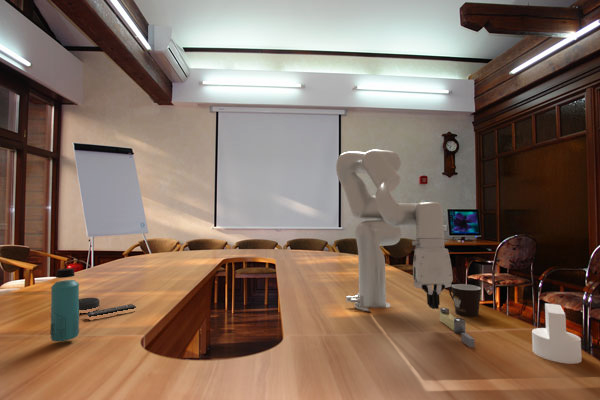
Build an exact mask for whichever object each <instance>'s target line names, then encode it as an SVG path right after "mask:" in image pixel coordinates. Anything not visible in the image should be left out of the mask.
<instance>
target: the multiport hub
mask: <svg viewBox="0 0 600 400" xmlns="http://www.w3.org/2000/svg"><path fill="white" fill-rule="evenodd" d="M134 308H136V309H137V305H135V304H132V303H130V304H125V305H121V306H114V307H110V308H105V309H98V310H96V311H93V312H88V313H86V314H87V315H88V316H89V317H91V316H97V315H103V314H108V313H113V312H117V311H123V310H128V309H134Z"/></svg>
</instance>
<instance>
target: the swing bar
mask: <svg viewBox="0 0 600 400" xmlns="http://www.w3.org/2000/svg"><path fill="white" fill-rule="evenodd" d="M439 310H440V311H439V321H440V322H441V323H442V324H444V325H445V326H446V327H448V328H449V329H450V330H452V331H454V334H458V335H461V333H466V319H465V318H462V317H457V316H455V315H453V314H452V313H450V309H449V308H447V307H446V308H445V307H441V308H439Z"/></svg>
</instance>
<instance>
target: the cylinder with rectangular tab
mask: <svg viewBox="0 0 600 400" xmlns="http://www.w3.org/2000/svg"><path fill="white" fill-rule="evenodd" d="M544 310H545V311H544V312H545V313H544V315H545V327H539V328H538V327H537V328H533V329H532V331H531V340H532V353H533V354H535V355H536V356H538V357H540V358H542V359H545V360H548V361H551V362H555V363H562V364H567V365H568V364H569V365H570V364H572V365H573V364H579V363H581V362H582V339H581V337H580V336H578V335H577V334H574V333H572V332H568V331H567V325H566V324H567V321H566V320H567V318H566V312H565V311H564V309H563V307H562V306H561V304H557V303H546V302H545V303H544Z"/></svg>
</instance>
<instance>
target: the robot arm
mask: <svg viewBox="0 0 600 400" xmlns="http://www.w3.org/2000/svg"><path fill="white" fill-rule="evenodd" d="M401 163H402V162H401V158H400V156H399V155H398V154H397V153H396V152H395V151H392V150H382V149H370V150H368V151H366V152H363V151H346V152H343V153H340V155H339V156H338V158H337V160H336V165H335V167H336V168H335V169H336V175H337V179H338V180H339V182H340V185H341V186H342V188H343V190H344V193H345V195H346V199H347V202H348V205H349V208H350V211H351V213H352V216H353V217H354V218H355V219H356V220H357V221H358V220H360V221H361V222H360V223H358V224H357V226H356V227H355V233H354V235H355V241H356V246H357V255H358V258H357V259H358V292H357V293H356V294H354V295H353V296H351V295H346V296H345V300H346V302H347V303H349V302H350V303H354V307H355V308H356V309H358V310H360V311H362V312H363V311H364V312H369V313H370V308H373V309H374V308H391V303H389V302H387V298H386V297H387V295H386V289H387V287H386V259H385V255H384V252H383V250H382V249H381V247H383V246H384V247H385V246H394V245H397V244H398V243H399V242H400V240H401V237H402V230H401V228H415V231H416V236H415V240H412V241H411V245H412V246H415V247H416V248H415V249H414V253H413V254H414V255H413V259H412V260H413V262H412V277H413V287H415V288H417V289H421V290H423V291H424V292H425V293H426V302H427V304H426V305H428V307H429V308H430V309H432V310H435V309H436V310H437V309H438V310H440V308H439V306H440V304H441V303H440V295H441V294H442V291H443V290H445V289H446V288H450V287H452V285H453V284H452V282H453V280H454V278H453V276H454V275H453V269H452V263H451V262H452V261H451V258H450V257H451V256H450V253H449V249H448V248H445V236H444V235H445V233H444V217H443V216H444V215H443V206H442V204H441V203H440V202H436V201H428V202H427V201H425V202H418V203H415V202H414V203H411V202H396V200H395V199H394V197H393V195H392V194H391V192H393V191H394V190H395V189H396V188H397V187H399V185H400V183H401V176H400V175H399V174H398V171H399V170H400V167H401ZM358 174H363V175H365V174H366V175H368V176H369V178H370V180H371V181H372V183H373V184H374V186H375V187H376V189H377V190H376V192H375V195H372V194H370V193H369V192H370V191H368V188H367V185H366V183H365V182H364V181H363V179H362V178H361V177H360V176H359V175H358ZM432 285H433V286H432Z"/></svg>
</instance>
